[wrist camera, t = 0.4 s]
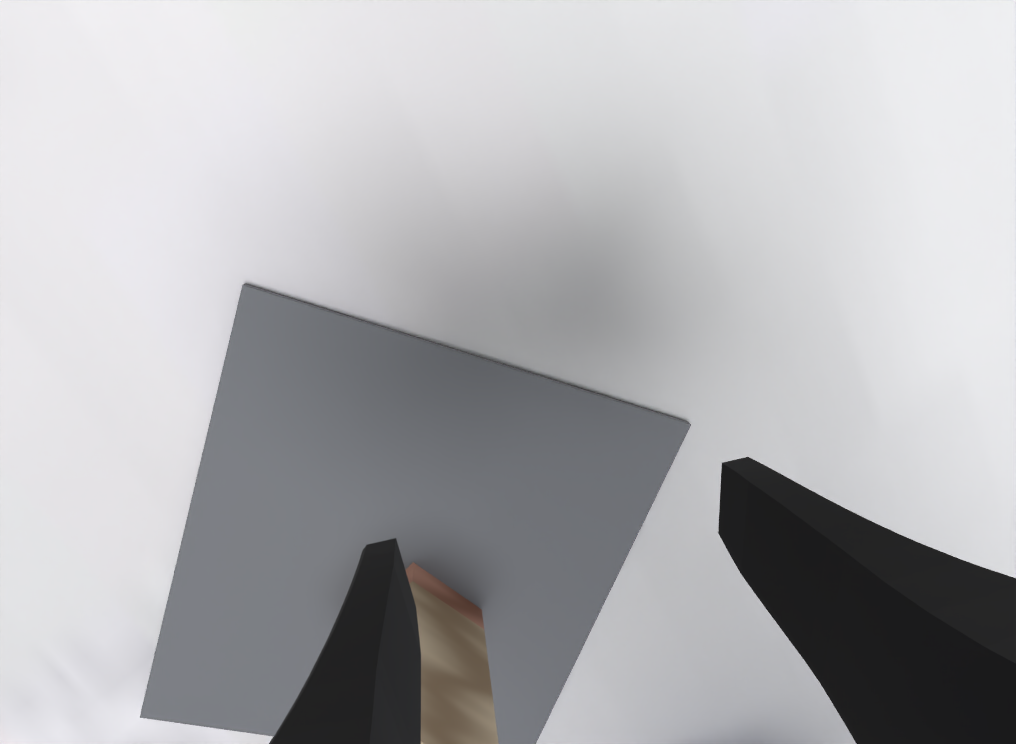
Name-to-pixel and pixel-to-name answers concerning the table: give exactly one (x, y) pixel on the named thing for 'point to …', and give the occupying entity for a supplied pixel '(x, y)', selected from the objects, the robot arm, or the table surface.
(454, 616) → the maple block
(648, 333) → the table surface
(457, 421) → the mat
